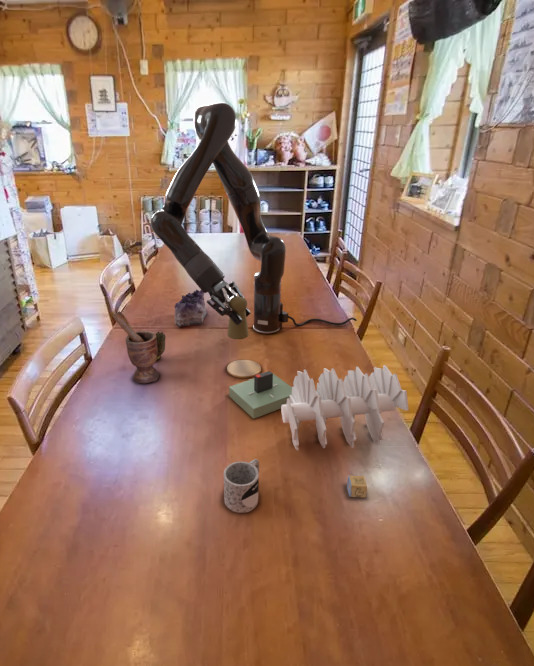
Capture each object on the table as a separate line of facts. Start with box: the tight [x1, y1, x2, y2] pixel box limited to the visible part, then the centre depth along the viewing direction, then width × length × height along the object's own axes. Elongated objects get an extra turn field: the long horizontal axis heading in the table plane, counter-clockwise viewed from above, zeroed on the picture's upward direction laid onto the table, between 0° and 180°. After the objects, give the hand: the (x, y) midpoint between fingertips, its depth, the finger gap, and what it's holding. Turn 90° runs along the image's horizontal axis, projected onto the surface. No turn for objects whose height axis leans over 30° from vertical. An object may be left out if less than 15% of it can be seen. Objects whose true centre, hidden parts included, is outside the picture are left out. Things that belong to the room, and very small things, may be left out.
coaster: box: [226, 359, 262, 379], centre depth 135 cm, size 10×10×1 cm
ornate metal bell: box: [155, 331, 167, 362], centre depth 140 cm, size 8×7×8 cm
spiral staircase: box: [280, 364, 409, 451], centre depth 102 cm, size 18×18×25 cm
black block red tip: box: [253, 370, 274, 393], centre depth 118 cm, size 5×2×5 cm, turn 120°
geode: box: [173, 289, 208, 328], centre depth 168 cm, size 20×12×10 cm, turn 174°
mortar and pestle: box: [112, 310, 160, 384], centre depth 127 cm, size 12×9×20 cm
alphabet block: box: [346, 475, 368, 498], centre depth 89 cm, size 3×3×3 cm
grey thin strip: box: [223, 458, 260, 514], centre depth 89 cm, size 10×7×7 cm
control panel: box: [228, 373, 293, 420], centre depth 120 cm, size 14×12×3 cm
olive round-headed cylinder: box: [226, 296, 250, 340], centre depth 125 cm, size 6×6×11 cm
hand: (244, 319), depth 125 cm, fingers closed on olive round-headed cylinder, 5 cm apart
